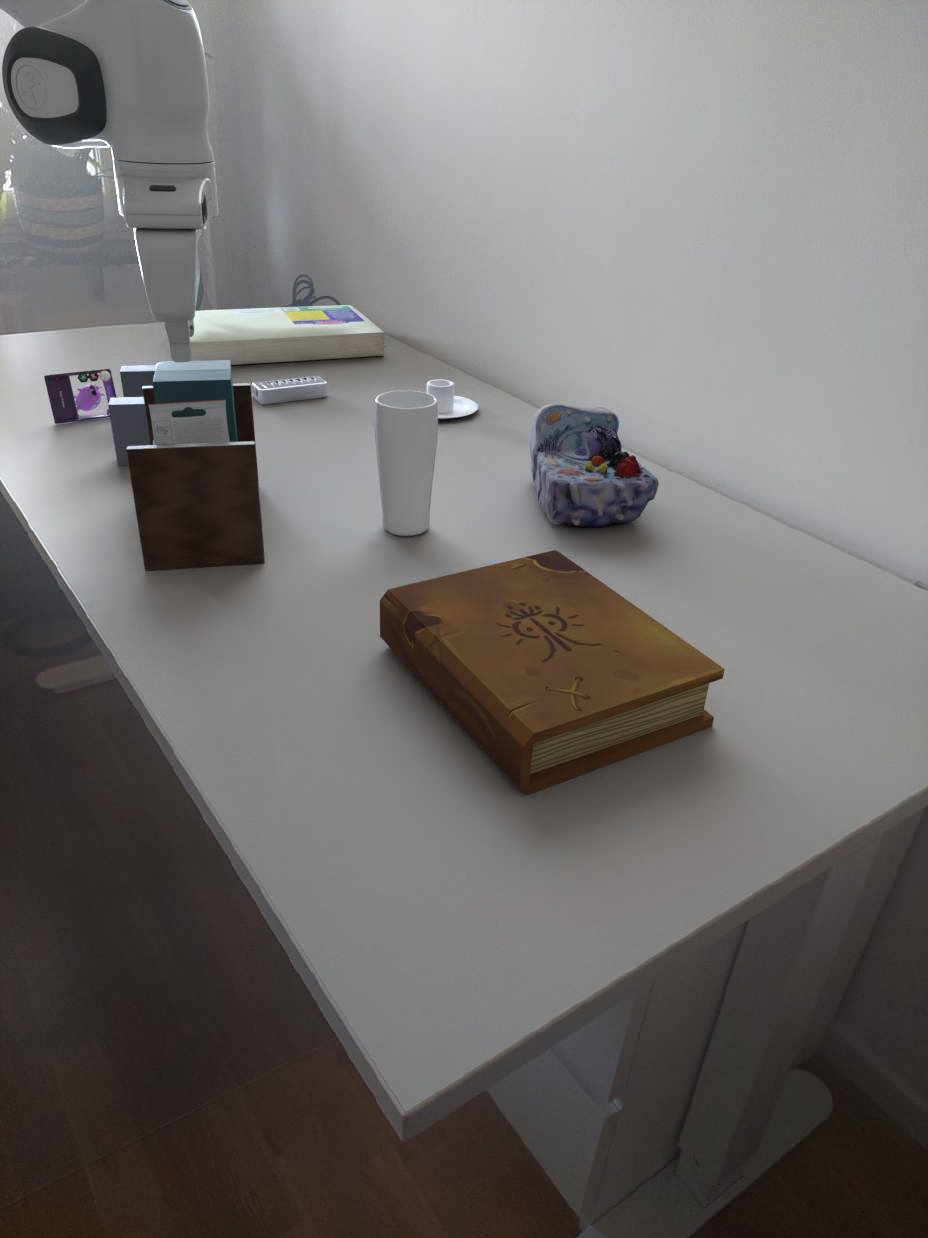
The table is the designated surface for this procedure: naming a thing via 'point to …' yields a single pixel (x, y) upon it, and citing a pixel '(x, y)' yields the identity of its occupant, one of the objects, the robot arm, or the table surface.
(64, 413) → the purple monster box
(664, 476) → the table surface
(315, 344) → the puzzle box
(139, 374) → the grey u-shaped block
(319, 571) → the table surface
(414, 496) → the drinking glass
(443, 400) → the candle holder
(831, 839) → the table surface
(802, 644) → the table surface
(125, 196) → the robot arm
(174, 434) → the ink box
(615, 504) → the cell model
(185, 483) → the book rack
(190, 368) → the teal tall block
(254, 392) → the multiport hub
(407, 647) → the diary
